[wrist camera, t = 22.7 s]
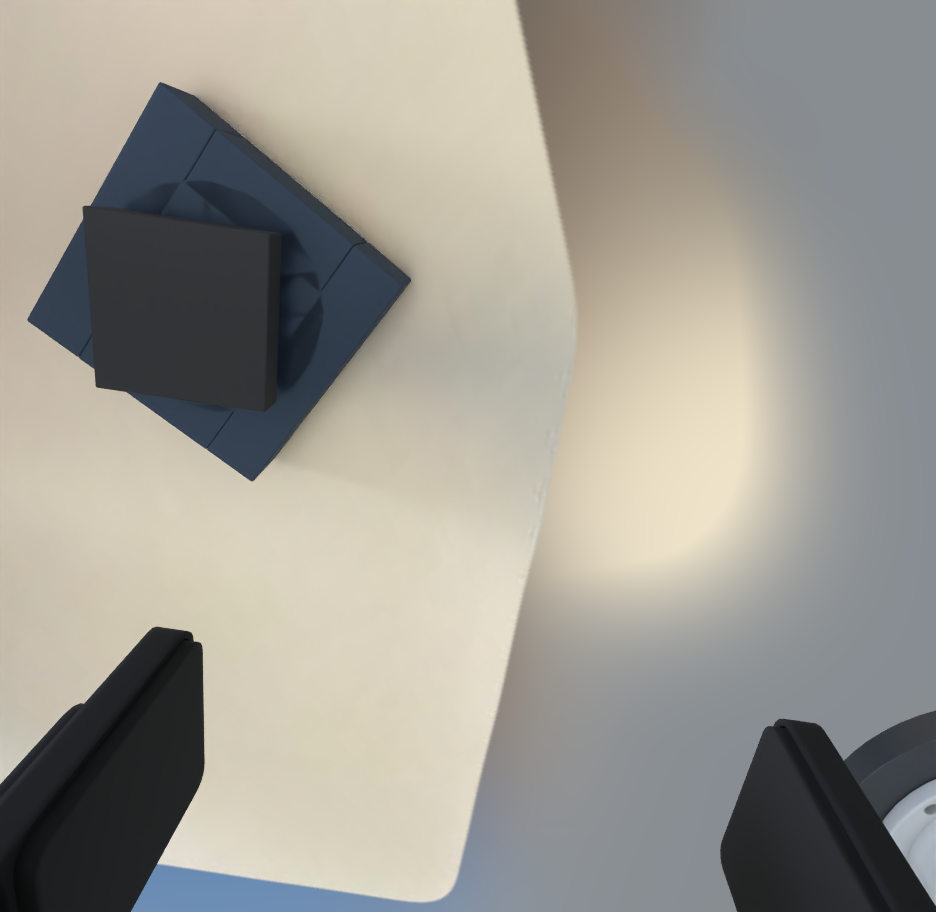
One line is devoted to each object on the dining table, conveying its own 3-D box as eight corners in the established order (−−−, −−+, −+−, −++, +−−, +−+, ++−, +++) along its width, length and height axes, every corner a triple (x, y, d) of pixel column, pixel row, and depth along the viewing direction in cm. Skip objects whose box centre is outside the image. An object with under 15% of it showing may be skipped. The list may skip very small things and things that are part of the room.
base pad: (412, 279, 29) (403, 285, 27) (272, 460, 33) (251, 482, 30) (193, 94, 27) (158, 80, 24) (68, 311, 31) (25, 320, 28)
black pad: (313, 230, 29) (269, 233, 23) (306, 378, 31) (265, 412, 26) (161, 207, 29) (81, 205, 23) (166, 357, 31) (94, 387, 26)
